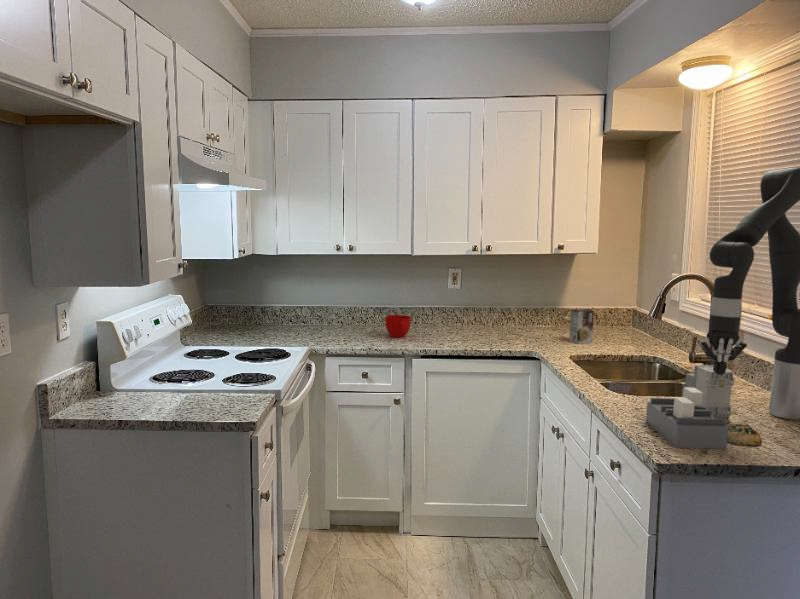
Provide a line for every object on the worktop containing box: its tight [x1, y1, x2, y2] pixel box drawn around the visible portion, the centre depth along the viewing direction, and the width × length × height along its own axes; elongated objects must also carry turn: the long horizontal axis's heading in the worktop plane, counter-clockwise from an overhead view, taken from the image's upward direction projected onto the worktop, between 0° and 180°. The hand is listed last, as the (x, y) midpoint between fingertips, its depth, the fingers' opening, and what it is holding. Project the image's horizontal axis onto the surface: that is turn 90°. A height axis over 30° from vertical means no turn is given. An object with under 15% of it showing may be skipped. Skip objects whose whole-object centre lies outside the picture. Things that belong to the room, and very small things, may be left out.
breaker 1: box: [682, 386, 703, 406], centre depth 162 cm, size 3×5×5 cm, turn 178°
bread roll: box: [725, 423, 763, 446], centre depth 156 cm, size 11×11×5 cm
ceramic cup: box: [384, 314, 412, 339], centre depth 284 cm, size 13×17×10 cm
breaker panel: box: [645, 397, 729, 450], centre depth 158 cm, size 13×20×8 cm, turn 178°
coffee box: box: [569, 308, 595, 345], centre depth 280 cm, size 9×6×16 cm
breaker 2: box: [673, 396, 695, 418], centre depth 152 cm, size 3×5×5 cm, turn 178°
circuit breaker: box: [684, 364, 735, 422], centre depth 176 cm, size 8×14×15 cm, turn 2°
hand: (718, 374), depth 161 cm, fingers closed
